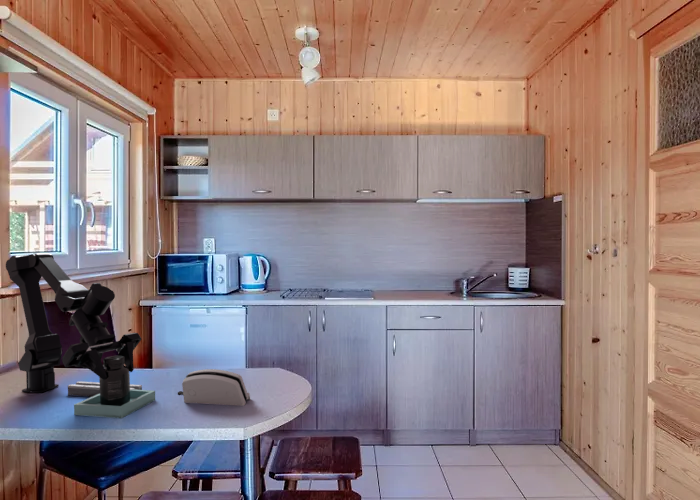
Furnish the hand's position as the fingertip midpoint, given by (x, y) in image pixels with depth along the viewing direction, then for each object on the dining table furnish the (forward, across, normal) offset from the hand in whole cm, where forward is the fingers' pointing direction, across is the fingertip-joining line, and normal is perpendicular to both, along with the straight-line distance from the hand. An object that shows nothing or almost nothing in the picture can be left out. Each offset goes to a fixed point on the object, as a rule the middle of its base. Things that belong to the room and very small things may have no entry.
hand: (119, 374), depth 116 cm
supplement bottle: (+5, 0, -7) cm, 8 cm away
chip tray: (+5, 0, -7) cm, 8 cm away
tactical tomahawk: (+10, -25, -2) cm, 27 cm away
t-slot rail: (-3, -5, -15) cm, 16 cm away
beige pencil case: (+19, -14, +7) cm, 25 cm away
